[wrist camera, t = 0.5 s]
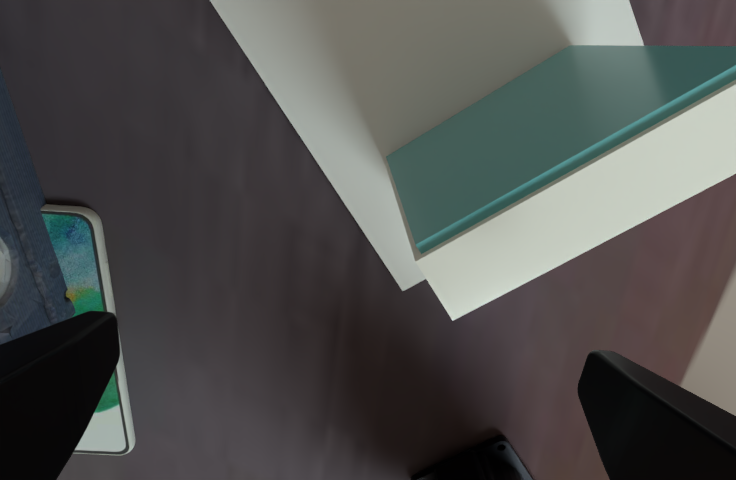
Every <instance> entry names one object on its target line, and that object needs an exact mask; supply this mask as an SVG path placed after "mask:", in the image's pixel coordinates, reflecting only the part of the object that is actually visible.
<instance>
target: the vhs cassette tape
mask: <svg viewBox="0 0 736 480" xmlns="http://www.w3.org/2000/svg"><path fill="white" fill-rule="evenodd" d="M46 204H47V203H46V200H45V197H44V194H43V192H42V189H41V186H40V183H39V180H38V177H37V174H36V172H35V169H34V166H33V163H32V160H31V157H30V153H29V150H28V147H27V145H26V142H25V139H24V136H23V133H22V130H21V127H20V124H19V122H18V119H17V116H16V113H15V110H14V107H13V104H12V101H11V98H10V95H9V92H8V89H7V86H6V83H5V80H4V77H3V74H2V71H1V68H0V344H3V343H6V342H8V341H11V340H14V339H16V338H19V337H22V336H24V335H27V334H29V333H32V332H35V331H37V330H40V329H43V328H45V327H48V326H51V325H53V324H56V323H58V322H61V321H64V320H66V319H69V318H72V317H73V315H74V314H75V313H76V312H75V308H74V305H73V303H72V301H71V299H69V298H68V297H66V291H67V290H68V289H67V286H66V283H65V280H64V277H63V274H62V271H61V268H60V265H59V262H58V259H57V256H56V253H55V251H54V248H53V245H52V242H51V240H50V237H49V234H48V231H47V228H46V225H45V222H44V219H43V216H42V214H41V208H42V207H43V206H44V205H46Z"/></svg>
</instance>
